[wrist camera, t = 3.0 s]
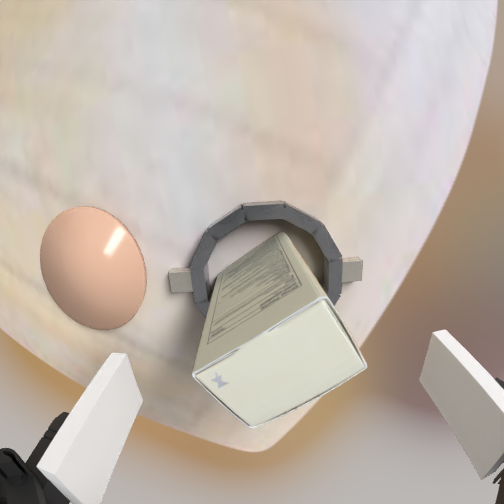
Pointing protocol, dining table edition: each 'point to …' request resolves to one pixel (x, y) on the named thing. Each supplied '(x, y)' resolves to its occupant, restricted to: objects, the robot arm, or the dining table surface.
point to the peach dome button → (93, 267)
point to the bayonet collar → (333, 262)
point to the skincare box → (272, 337)
